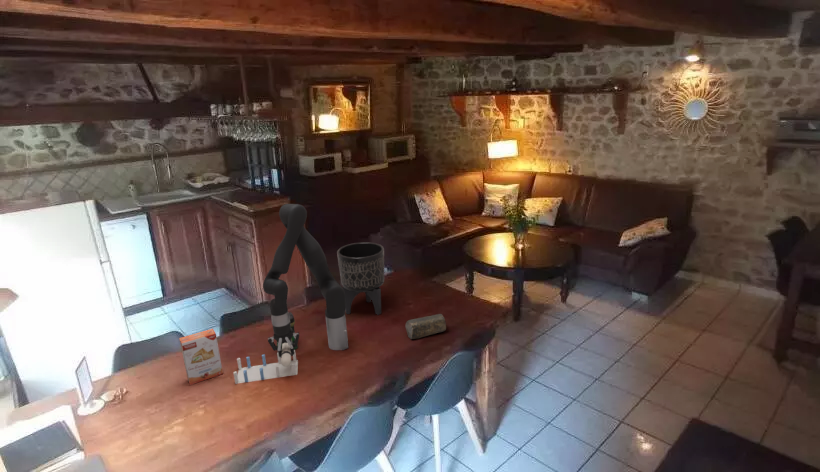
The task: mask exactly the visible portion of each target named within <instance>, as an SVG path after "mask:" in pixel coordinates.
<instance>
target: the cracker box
mask: <svg viewBox="0 0 820 472" xmlns="http://www.w3.org/2000/svg"><path fill="white" fill-rule="evenodd" d="M179 343H180V344H179V345H180V349H181V353H182V357H183V362H184V369H185V373H186V377H187V381H188V382H189V385H190V386H191V385H195V384H198V383H200V382H203V381H206V380H209V379H212V378H215V377H219V376H221V375H223V374H224V373H223V371H224V370H223V366H222V361H221V355H220V348H219V344H218V338H217V334H216V331H215V330H214V328H209V329H207V330H203V331H199V332H195V333H193V334H189V335H186V336H182V337H179Z"/></svg>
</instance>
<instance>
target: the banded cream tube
mask: <svg viewBox="0 0 820 472" xmlns="http://www.w3.org/2000/svg"><path fill="white" fill-rule="evenodd" d="M291 361H292V356H291V351H290V346H289V345H288V343H283V344H282V355H281V364H282V365H283V366H285V367H286V366H289V365H290V364H291Z"/></svg>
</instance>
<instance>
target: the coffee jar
mask: <svg viewBox="0 0 820 472" xmlns="http://www.w3.org/2000/svg"><path fill="white" fill-rule="evenodd" d="M288 313H289V317H290V323H291V329H292V331H293V333H296V330H295V323H296V320H295V317H294V314H293V313H292V312H291V311H288ZM291 341H292V343H294V342H295V338H294V336H293V337H292V338H291ZM298 345H299V344H297V347H294V350H295V351H296V350H297V349H299V346H298ZM276 346H278V342H277V341H276ZM281 349H282V344H281Z"/></svg>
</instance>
